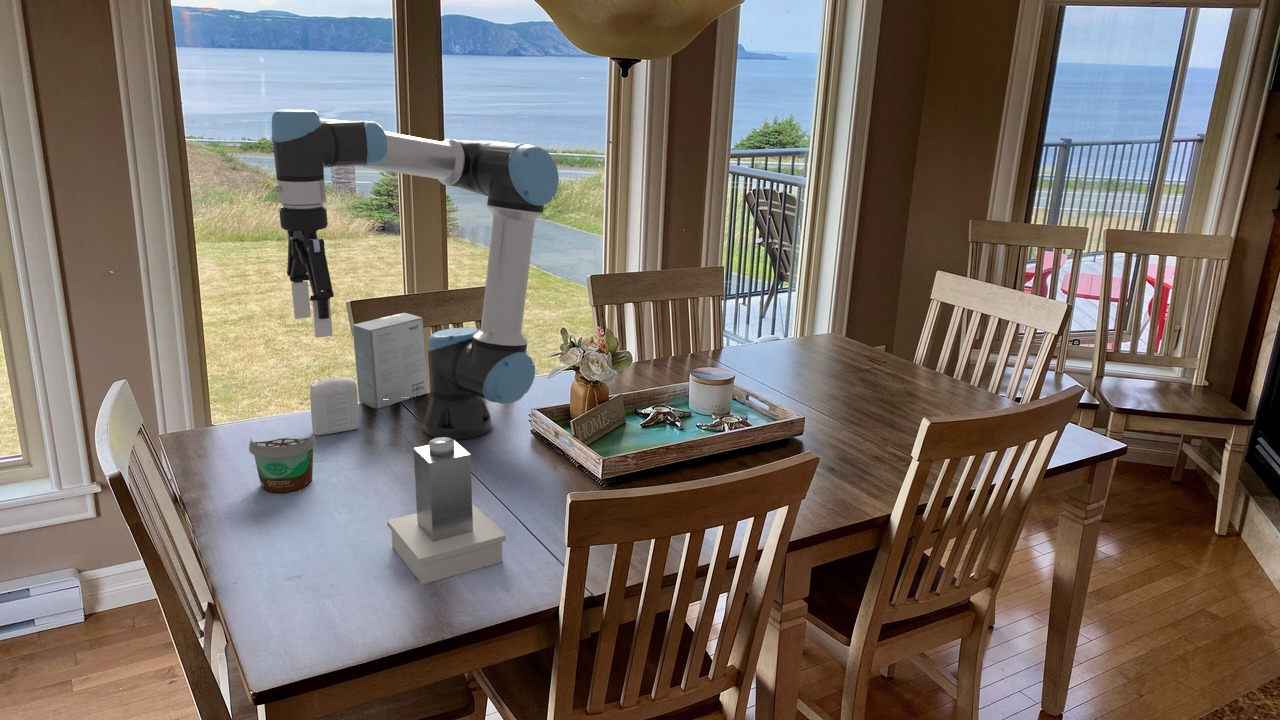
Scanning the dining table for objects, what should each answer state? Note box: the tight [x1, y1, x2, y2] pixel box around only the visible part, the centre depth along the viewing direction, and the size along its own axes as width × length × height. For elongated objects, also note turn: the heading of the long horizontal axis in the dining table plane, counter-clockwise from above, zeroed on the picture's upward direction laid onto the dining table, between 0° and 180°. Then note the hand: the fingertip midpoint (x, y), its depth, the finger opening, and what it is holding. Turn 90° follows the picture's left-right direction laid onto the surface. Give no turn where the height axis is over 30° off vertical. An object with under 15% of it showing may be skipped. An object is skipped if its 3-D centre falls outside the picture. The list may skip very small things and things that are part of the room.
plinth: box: [386, 502, 507, 585], centre depth 154 cm, size 15×15×5 cm
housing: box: [413, 437, 473, 542], centre depth 151 cm, size 7×7×16 cm
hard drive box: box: [351, 312, 428, 410], centre depth 223 cm, size 16×8×20 cm, turn 141°
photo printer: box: [309, 376, 360, 436], centre depth 204 cm, size 10×4×12 cm, turn 123°
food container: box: [248, 433, 318, 495], centre depth 175 cm, size 12×6×10 cm, turn 105°
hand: (312, 326), depth 160 cm, fingers open, 13 cm apart
